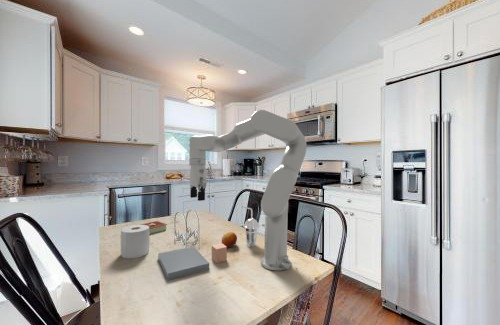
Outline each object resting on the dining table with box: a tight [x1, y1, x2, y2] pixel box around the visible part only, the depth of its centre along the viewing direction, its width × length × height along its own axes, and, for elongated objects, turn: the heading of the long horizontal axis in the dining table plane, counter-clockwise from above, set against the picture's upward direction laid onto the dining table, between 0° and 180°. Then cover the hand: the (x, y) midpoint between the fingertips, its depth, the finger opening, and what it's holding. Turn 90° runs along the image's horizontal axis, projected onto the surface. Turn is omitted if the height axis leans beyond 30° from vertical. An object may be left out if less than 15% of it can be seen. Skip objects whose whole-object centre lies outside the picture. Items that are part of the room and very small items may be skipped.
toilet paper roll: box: [120, 224, 151, 259], centre depth 103 cm, size 12×12×12 cm
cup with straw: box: [241, 206, 261, 248], centre depth 114 cm, size 8×9×20 cm
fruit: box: [221, 231, 238, 248], centre depth 113 cm, size 8×8×8 cm
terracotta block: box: [211, 242, 228, 264], centre depth 97 cm, size 5×5×6 cm
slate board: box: [157, 246, 210, 281], centre depth 93 cm, size 20×16×2 cm
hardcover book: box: [140, 220, 168, 235], centre depth 134 cm, size 12×21×4 cm, turn 142°
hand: (197, 198), depth 104 cm, fingers open, 9 cm apart
